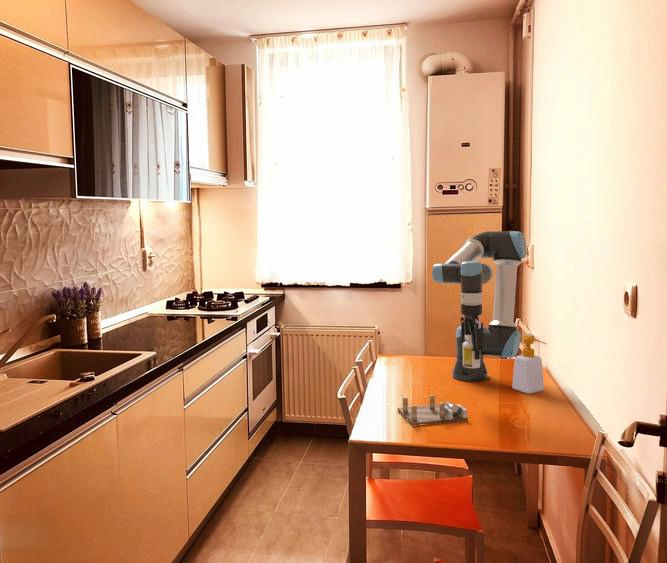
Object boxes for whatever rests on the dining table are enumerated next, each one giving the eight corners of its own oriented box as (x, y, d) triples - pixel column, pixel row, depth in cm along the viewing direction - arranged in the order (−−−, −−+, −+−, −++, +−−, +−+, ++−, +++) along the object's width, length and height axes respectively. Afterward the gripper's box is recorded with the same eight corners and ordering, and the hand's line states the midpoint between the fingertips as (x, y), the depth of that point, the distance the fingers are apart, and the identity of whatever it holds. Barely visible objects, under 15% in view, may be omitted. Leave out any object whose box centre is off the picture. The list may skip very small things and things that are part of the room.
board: (397, 411, 209) (397, 394, 209) (448, 406, 213) (448, 390, 213) (412, 426, 194) (412, 408, 193) (467, 420, 198) (467, 403, 197)
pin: (444, 410, 205) (444, 401, 205) (451, 409, 206) (451, 401, 205) (452, 416, 198) (452, 408, 198) (460, 415, 199) (460, 407, 199)
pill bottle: (481, 369, 208) (481, 337, 207) (462, 368, 209) (462, 337, 208) (480, 364, 214) (480, 333, 213) (462, 364, 216) (462, 333, 214)
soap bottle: (536, 398, 221) (537, 341, 218) (510, 389, 233) (510, 335, 231) (554, 394, 225) (555, 338, 223) (527, 385, 237) (528, 332, 235)
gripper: (450, 300, 218) (451, 359, 220) (473, 308, 199) (473, 373, 201) (469, 299, 219) (469, 358, 222) (493, 307, 200) (493, 371, 203)
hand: (471, 365), depth 212 cm, fingers closed on pill bottle, 6 cm apart
